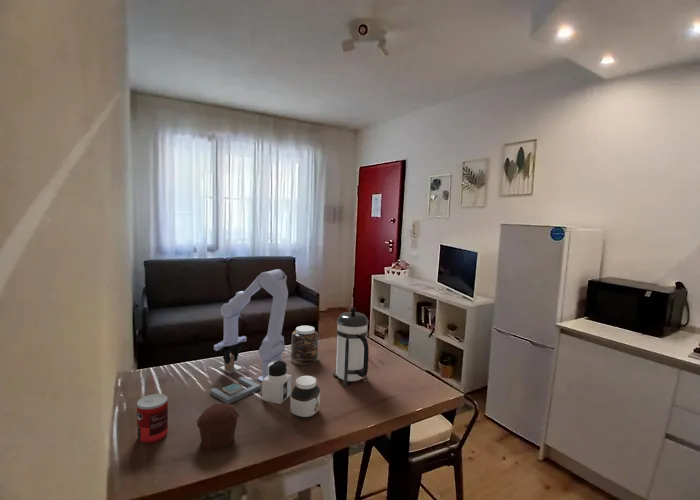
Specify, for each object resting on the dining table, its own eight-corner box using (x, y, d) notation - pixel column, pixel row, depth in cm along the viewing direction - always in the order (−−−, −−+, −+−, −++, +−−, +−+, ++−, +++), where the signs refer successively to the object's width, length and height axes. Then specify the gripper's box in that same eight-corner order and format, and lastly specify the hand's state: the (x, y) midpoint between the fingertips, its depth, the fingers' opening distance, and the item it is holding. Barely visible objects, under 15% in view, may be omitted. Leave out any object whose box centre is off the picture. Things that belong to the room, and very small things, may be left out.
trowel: (231, 364, 153) (231, 350, 153) (241, 369, 149) (241, 354, 148) (219, 369, 148) (219, 354, 148) (229, 374, 144) (229, 359, 144)
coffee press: (324, 383, 139) (327, 309, 136) (340, 368, 154) (343, 301, 151) (366, 393, 133) (369, 316, 129) (378, 376, 147) (382, 306, 144)
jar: (310, 353, 168) (311, 323, 167) (321, 362, 158) (322, 330, 157) (287, 357, 162) (288, 326, 161) (297, 367, 152) (297, 334, 151)
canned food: (145, 427, 107) (144, 393, 106) (172, 427, 108) (172, 393, 107) (131, 444, 99) (131, 407, 98) (161, 443, 100) (160, 407, 99)
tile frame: (260, 389, 133) (260, 385, 133) (228, 404, 122) (228, 400, 121) (242, 380, 139) (242, 376, 139) (210, 393, 128) (210, 389, 128)
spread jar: (305, 424, 112) (306, 389, 111) (278, 413, 117) (278, 380, 116) (326, 407, 122) (327, 375, 121) (300, 397, 128) (300, 367, 127)
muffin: (217, 457, 95) (217, 423, 94) (187, 446, 100) (187, 412, 99) (246, 433, 106) (247, 402, 105) (218, 423, 111) (218, 393, 110)
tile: (242, 390, 132) (242, 387, 132) (230, 396, 128) (230, 392, 128) (234, 386, 135) (234, 382, 135) (222, 391, 131) (222, 387, 131)
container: (291, 394, 130) (292, 360, 129) (280, 404, 123) (281, 369, 121) (273, 390, 132) (273, 357, 131) (261, 400, 125) (262, 365, 124)
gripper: (239, 324, 155) (239, 354, 157) (209, 332, 144) (209, 364, 145) (249, 328, 151) (249, 358, 152) (219, 336, 139) (219, 369, 141)
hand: (230, 361), depth 148 cm, fingers open, 3 cm apart
